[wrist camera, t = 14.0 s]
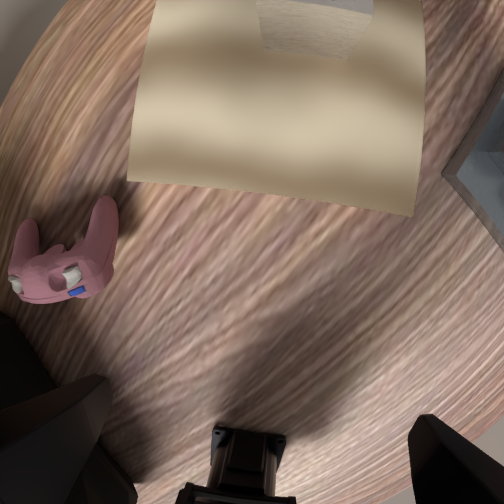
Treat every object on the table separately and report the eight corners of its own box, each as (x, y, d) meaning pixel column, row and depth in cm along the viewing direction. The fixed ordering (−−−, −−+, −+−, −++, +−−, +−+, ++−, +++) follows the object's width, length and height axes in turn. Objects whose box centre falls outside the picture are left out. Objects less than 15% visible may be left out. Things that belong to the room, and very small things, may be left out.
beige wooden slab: (394, 210, 18) (412, 217, 15) (147, 178, 19) (126, 180, 16) (406, 19, 15) (421, 1, 12) (178, -6, 15) (164, -26, 13)
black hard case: (-26, 308, 25) (-137, 383, 5) (19, 279, 22) (-142, 379, 3) (102, 487, 31) (53, 582, 11) (168, 493, 29) (125, 616, 9)
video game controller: (49, 256, 23) (14, 317, 18) (24, 214, 20) (-21, 273, 15) (140, 239, 22) (110, 314, 17) (116, 186, 19) (71, 256, 14)
